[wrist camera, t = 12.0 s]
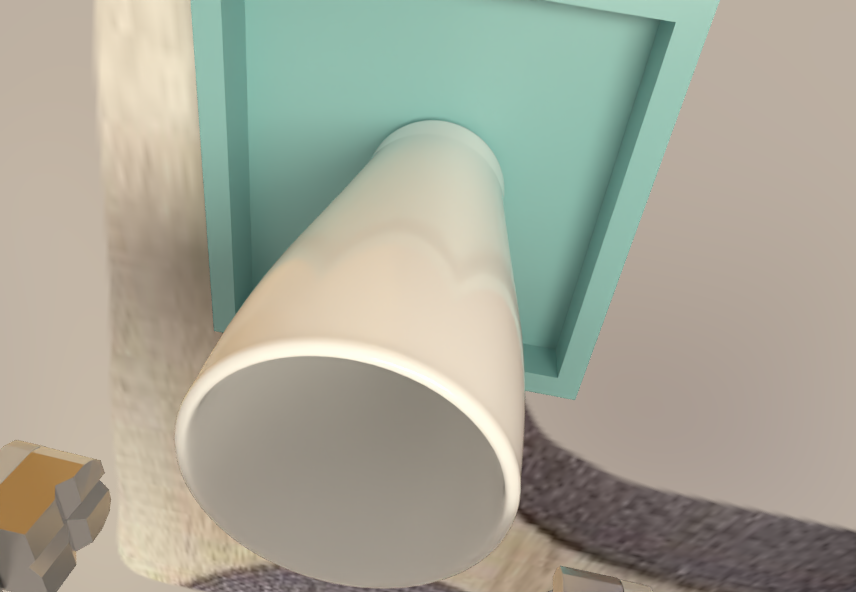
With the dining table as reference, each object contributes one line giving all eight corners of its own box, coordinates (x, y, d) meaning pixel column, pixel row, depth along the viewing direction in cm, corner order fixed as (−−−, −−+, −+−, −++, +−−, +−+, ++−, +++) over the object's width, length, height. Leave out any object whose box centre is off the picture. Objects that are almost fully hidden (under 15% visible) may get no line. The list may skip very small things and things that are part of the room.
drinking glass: (483, 281, 26) (448, 628, 14) (333, 224, 26) (150, 531, 13) (554, 135, 22) (594, 427, 10) (379, 66, 22) (187, 280, 9)
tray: (701, -19, 20) (723, -10, 18) (571, 362, 28) (574, 400, 26) (219, -98, 20) (183, -99, 18) (237, 299, 29) (214, 331, 27)
